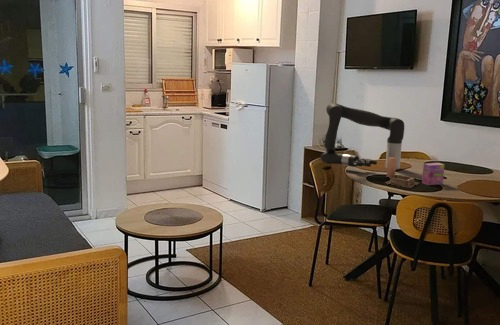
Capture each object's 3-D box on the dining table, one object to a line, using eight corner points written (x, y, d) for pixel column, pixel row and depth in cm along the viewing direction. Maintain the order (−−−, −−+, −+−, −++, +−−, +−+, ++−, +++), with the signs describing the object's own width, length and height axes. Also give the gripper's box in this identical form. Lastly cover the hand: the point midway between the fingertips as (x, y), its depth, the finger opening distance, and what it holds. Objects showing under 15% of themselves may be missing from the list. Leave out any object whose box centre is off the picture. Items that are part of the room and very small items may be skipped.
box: (427, 185, 285) (429, 165, 283) (421, 183, 291) (423, 163, 288) (443, 184, 288) (445, 164, 286) (436, 182, 293) (438, 162, 291)
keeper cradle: (394, 179, 297) (394, 173, 296) (419, 183, 288) (419, 177, 287) (384, 183, 286) (385, 177, 286) (410, 188, 277) (410, 182, 277)
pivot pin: (388, 175, 307) (389, 156, 305) (396, 177, 304) (397, 157, 302) (385, 177, 303) (386, 157, 301) (392, 178, 300) (394, 159, 298)
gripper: (345, 156, 313) (368, 159, 303) (355, 153, 324) (378, 156, 314) (344, 167, 315) (368, 171, 305) (355, 164, 326) (378, 168, 316)
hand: (373, 164), depth 310 cm, fingers open, 8 cm apart
